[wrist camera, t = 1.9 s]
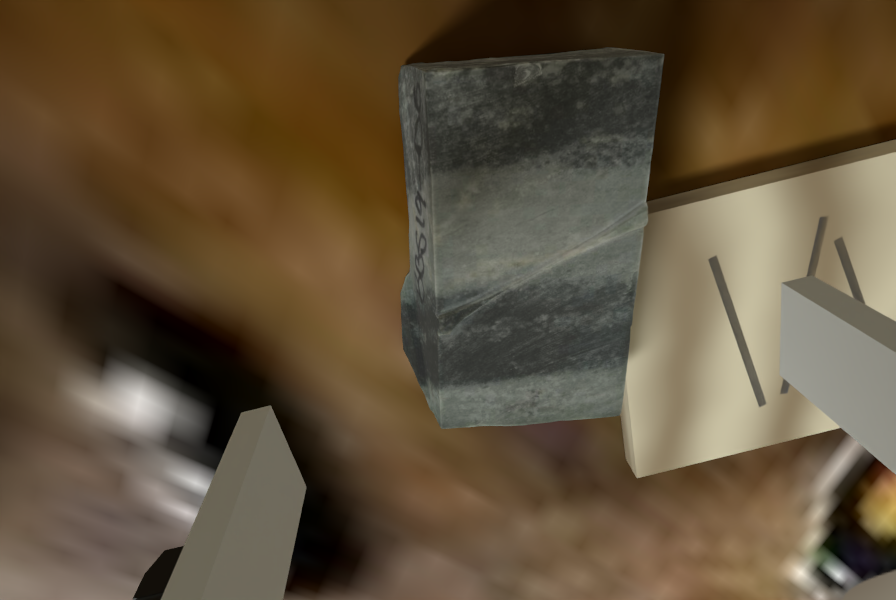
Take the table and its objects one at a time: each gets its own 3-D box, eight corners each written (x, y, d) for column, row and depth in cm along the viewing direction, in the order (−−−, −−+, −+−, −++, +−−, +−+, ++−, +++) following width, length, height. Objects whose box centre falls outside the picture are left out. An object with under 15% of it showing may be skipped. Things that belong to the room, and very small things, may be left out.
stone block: (407, 377, 28) (410, 445, 23) (381, 56, 22) (378, 58, 17) (586, 362, 28) (625, 426, 23) (608, 47, 22) (667, 46, 18)
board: (625, 459, 31) (637, 478, 29) (596, 214, 25) (608, 224, 23) (932, 382, 30) (957, 398, 29) (974, 119, 25) (1009, 123, 23)
